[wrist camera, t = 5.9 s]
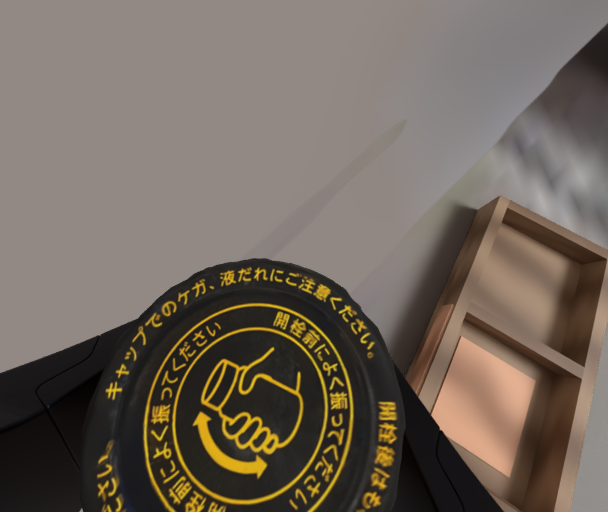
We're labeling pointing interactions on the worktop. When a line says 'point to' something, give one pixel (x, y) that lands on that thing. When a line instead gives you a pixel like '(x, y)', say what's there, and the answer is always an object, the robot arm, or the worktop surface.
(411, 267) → the worktop surface
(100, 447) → the condiment
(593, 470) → the worktop surface
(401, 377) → the robot arm
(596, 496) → the worktop surface
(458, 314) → the tray
